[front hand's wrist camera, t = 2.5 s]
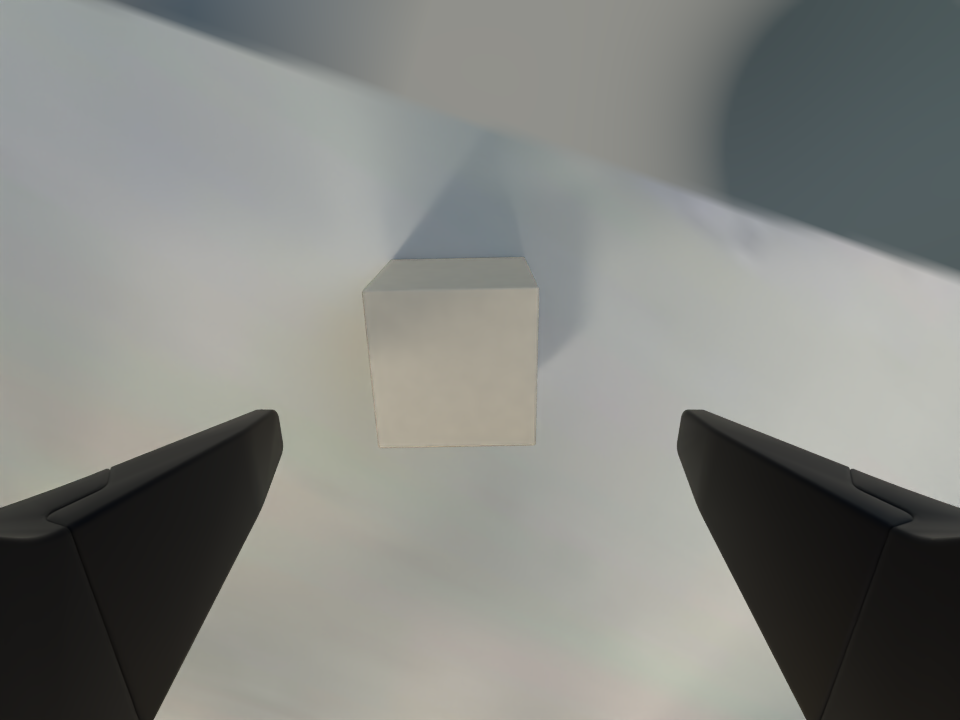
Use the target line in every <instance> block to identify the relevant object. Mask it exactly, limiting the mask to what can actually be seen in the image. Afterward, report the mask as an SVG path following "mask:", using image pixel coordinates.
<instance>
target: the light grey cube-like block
mask: <svg viewBox="0 0 960 720" xmlns="http://www.w3.org/2000/svg"><path fill="white" fill-rule="evenodd" d="M362 297H363V306H364V316H365V325H366V335H367V344H368V353H369V363H370V372H371V382H372V391H373V401H374V410H375V420H376V429H377V439H378V446H379V448H410V447H468V446H527V445H535V444H536V410H537V365H538V321H539V287H538V285H537V283H536V281H535V279H534V277H533V275H532V272H531V270H530V268H529V266H528V264H527V262H526V260H525V258H524V257H501V258H451V259H400V260H391V261H390V262H389V263H388V264H387V265H386V266H385V267H384V268H383V269H382V270H381V271H380V272H379V274H378V275H377V276H376V277H375V278H374V279H373V280H372V281H371V282H370V283H369V284H368V285H367V287H366V288H365V289H364V290H363V291H362Z"/></svg>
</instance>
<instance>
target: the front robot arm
mask: <svg viewBox="0 0 960 720" xmlns="http://www.w3.org/2000/svg"><path fill="white" fill-rule="evenodd" d="M282 451H283V440H282V434H281V428H280V422H279V416H278V414H277V412H276V411H275V410H255V411H252V412H250V413H247V414H245V415H242V416H240V417H237V418H235V419H232V420H230V421H227V422H224V423H222V424H219V425H217V426H214V427H212V428H209V429H207V430H204V431H202V432H199V433H197V434H194V435H191V436H189V437H186V438H184V439H181V440H179V441H176V442H174V443H171V444H169V445H166V446H164V447H161V448H158V449H156V450H153V451H151V452H148V453H146V454H143V455H141V456H138V457H136V458H133V459H131V460H128V461H126V462H123V463H120V464H118V465H115V466H113V467H111V469H110V470H109V469H105V470H102V471H100V472H97V473H95V474H92V475H90V476H87V477H85V478H82V479H79V480H77V481H74V482H71V483H69V484H66V485H64V486H61V487H58V488H55V489H53V490H50V491H47V492H44V493H42V494H39V495H36V496H33V497H30V498H28V499H25V500H22V501H19V502H16V503H13V504H10V505H8V506H5V507H2V508H0V720H154V718H155V716H156V714H157V712H158V710H159V708H160V706H161V704H162V702H163V700H164V698H165V697H166V695H167V693H168V691H169V689H170V687H171V685H172V683H173V681H174V679H175V677H176V675H177V673H178V671H179V669H180V667H181V665H182V663H183V661H184V659H185V657H186V656H187V654H188V652H189V650H190V648H191V646H192V644H193V642H194V640H195V638H196V636H197V634H198V632H199V630H200V628H201V626H202V624H203V622H204V620H205V618H206V616H207V615H208V613H209V611H210V609H211V607H212V605H213V603H214V601H215V599H216V597H217V595H218V593H219V591H220V589H221V587H222V585H223V583H224V581H225V579H226V577H227V576H228V574H229V572H230V570H231V568H232V566H233V564H234V562H235V560H236V558H237V556H238V554H239V552H240V550H241V548H242V546H243V544H244V542H245V540H246V538H247V536H248V535H249V533H250V531H251V529H252V527H253V525H254V523H255V521H256V519H257V517H258V515H259V513H260V511H261V509H262V506H263V504H264V501H265V499H266V496H267V493H268V490H269V488H270V485H271V482H272V480H273V477H274V474H275V471H276V469H277V466H278V463H279V460H280V458H281V455H282ZM677 451H678V455H679V458H680V460H681V463H682V466H683V469H684V471H685V474H686V477H687V480H688V482H689V485H690V488H691V490H692V493H693V496H694V499H695V501H696V504H697V506H698V509H699V511H700V513H701V515H702V517H703V519H704V521H705V523H706V525H707V527H708V529H709V531H710V533H711V535H712V537H713V538H714V540H715V542H716V544H717V546H718V548H719V550H720V552H721V554H722V556H723V558H724V560H725V562H726V564H727V566H728V568H729V570H730V572H731V574H732V576H733V577H734V579H735V581H736V583H737V585H738V587H739V589H740V591H741V593H742V595H743V597H744V599H745V601H746V603H747V605H748V607H749V609H750V611H751V613H752V615H753V617H754V618H755V620H756V622H757V624H758V626H759V628H760V630H761V632H762V634H763V636H764V638H765V640H766V642H767V644H768V646H769V648H770V650H771V652H772V654H773V656H774V658H775V659H776V661H777V663H778V665H779V667H780V669H781V671H782V673H783V675H784V677H785V679H786V681H787V683H788V685H789V687H790V689H791V691H792V693H793V695H794V697H795V698H796V700H797V702H798V704H799V706H800V708H801V710H802V712H803V714H804V716H805V718H806V720H960V508H958V507H955V506H952V505H950V504H947V503H944V502H941V501H938V500H935V499H932V498H930V497H927V496H924V495H921V494H918V493H916V492H913V491H910V490H907V489H905V488H902V487H899V486H896V485H894V484H891V483H889V482H886V481H883V480H881V479H878V478H875V477H873V476H870V475H868V474H865V473H863V472H860V471H858V470H855V469H849V467H847V466H845V465H842V464H840V463H837V462H834V461H832V460H829V459H827V458H824V457H822V456H819V455H817V454H814V453H812V452H809V451H807V450H804V449H802V448H799V447H796V446H794V445H791V444H789V443H786V442H784V441H781V440H779V439H776V438H774V437H771V436H769V435H766V434H763V433H761V432H758V431H756V430H753V429H751V428H748V427H746V426H743V425H741V424H738V423H736V422H733V421H730V420H728V419H725V418H723V417H720V416H718V415H715V414H713V413H710V412H708V411H705V410H685V411H684V412H683V414H682V416H681V422H680V428H679V434H678V440H677Z"/></svg>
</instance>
